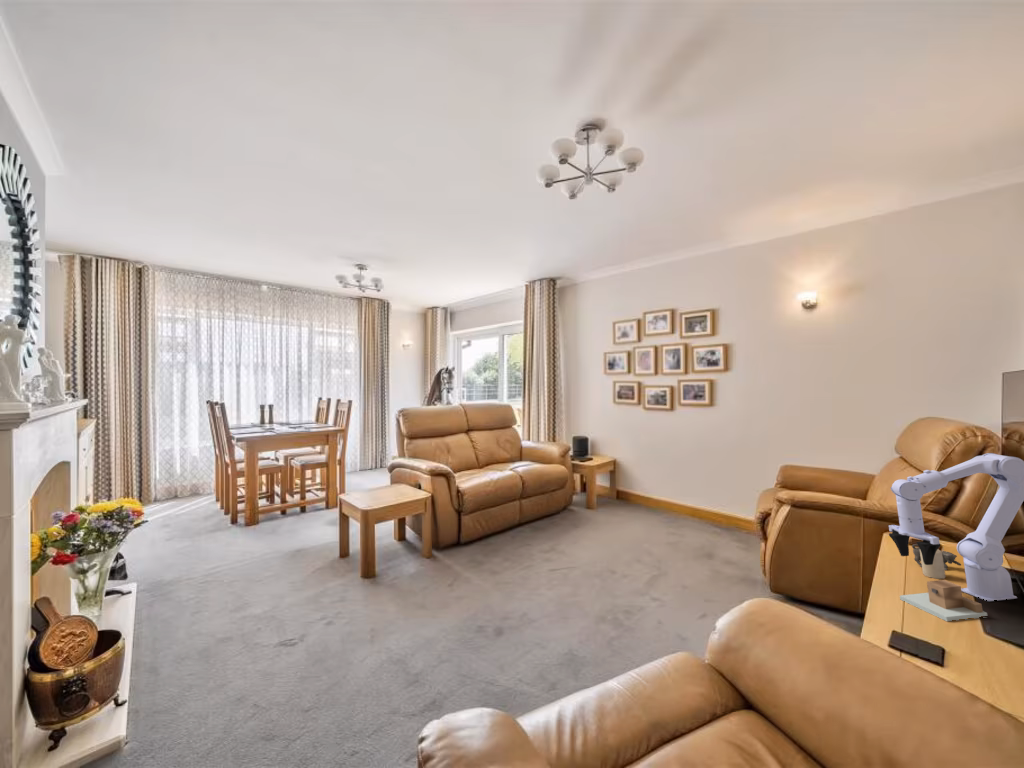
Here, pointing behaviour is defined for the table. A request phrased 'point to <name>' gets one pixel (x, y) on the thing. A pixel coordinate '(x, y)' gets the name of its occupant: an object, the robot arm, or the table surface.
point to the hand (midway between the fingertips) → (916, 559)
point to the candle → (934, 566)
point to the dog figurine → (946, 555)
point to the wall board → (923, 602)
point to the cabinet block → (945, 594)
